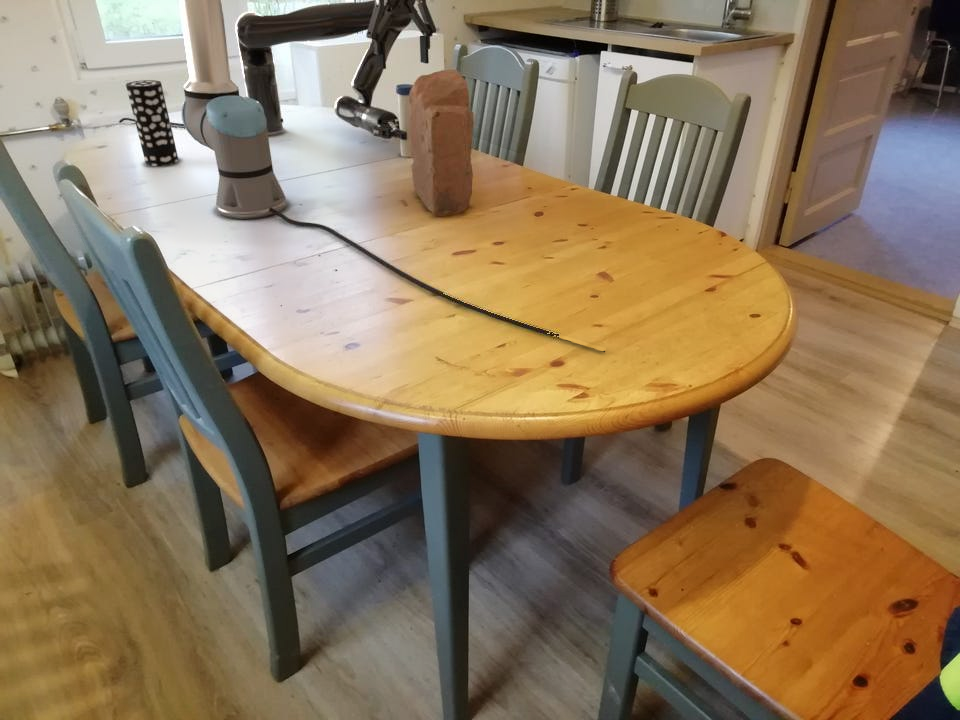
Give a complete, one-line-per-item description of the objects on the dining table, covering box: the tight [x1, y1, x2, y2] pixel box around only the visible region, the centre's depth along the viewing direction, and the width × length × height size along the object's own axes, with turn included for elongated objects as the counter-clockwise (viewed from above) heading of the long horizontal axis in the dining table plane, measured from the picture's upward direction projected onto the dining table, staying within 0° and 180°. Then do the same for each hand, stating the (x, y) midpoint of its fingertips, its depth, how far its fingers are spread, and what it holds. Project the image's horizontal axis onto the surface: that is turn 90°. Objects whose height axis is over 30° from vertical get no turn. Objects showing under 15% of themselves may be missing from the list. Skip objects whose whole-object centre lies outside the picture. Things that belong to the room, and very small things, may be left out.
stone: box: [409, 69, 475, 217], centre depth 155 cm, size 22×11×28 cm, turn 18°
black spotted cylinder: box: [125, 79, 179, 167], centre depth 181 cm, size 8×8×20 cm
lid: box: [395, 83, 413, 95], centre depth 185 cm, size 5×5×2 cm
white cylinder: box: [397, 94, 412, 158], centre depth 190 cm, size 4×4×18 cm
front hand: (403, 65), depth 182 cm, fingers open, 13 cm apart
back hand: (412, 134), depth 189 cm, fingers closed on white cylinder, 4 cm apart
